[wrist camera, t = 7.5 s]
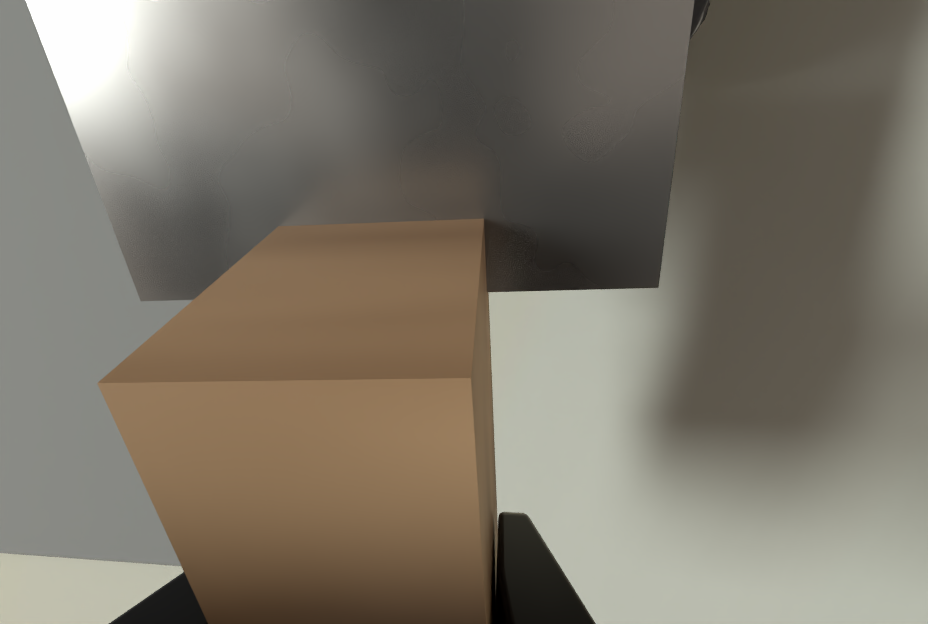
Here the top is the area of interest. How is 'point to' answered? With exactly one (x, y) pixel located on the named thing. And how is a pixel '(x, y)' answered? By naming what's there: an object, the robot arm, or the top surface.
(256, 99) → the turner
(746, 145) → the top surface
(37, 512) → the mat
